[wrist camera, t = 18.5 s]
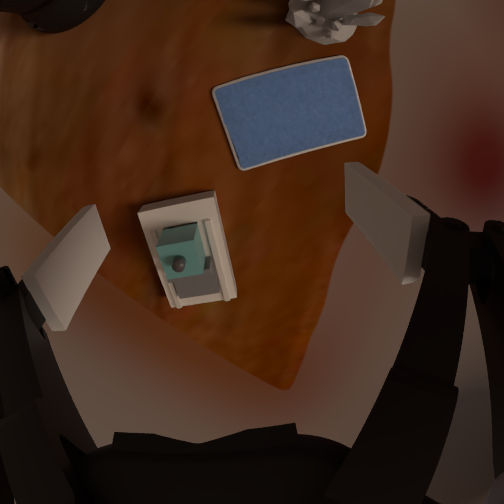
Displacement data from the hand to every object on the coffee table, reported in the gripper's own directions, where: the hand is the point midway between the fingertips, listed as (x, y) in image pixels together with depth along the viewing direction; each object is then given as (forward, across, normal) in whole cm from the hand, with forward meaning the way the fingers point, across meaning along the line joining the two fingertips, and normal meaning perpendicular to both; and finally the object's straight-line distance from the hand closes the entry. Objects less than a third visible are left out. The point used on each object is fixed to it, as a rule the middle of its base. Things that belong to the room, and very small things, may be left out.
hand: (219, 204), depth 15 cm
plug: (+27, -8, -14) cm, 31 cm away
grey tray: (+27, -8, -17) cm, 33 cm away
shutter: (+24, -8, -20) cm, 32 cm away
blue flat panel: (+28, +10, +2) cm, 30 cm away
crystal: (+28, +15, +16) cm, 36 cm away
